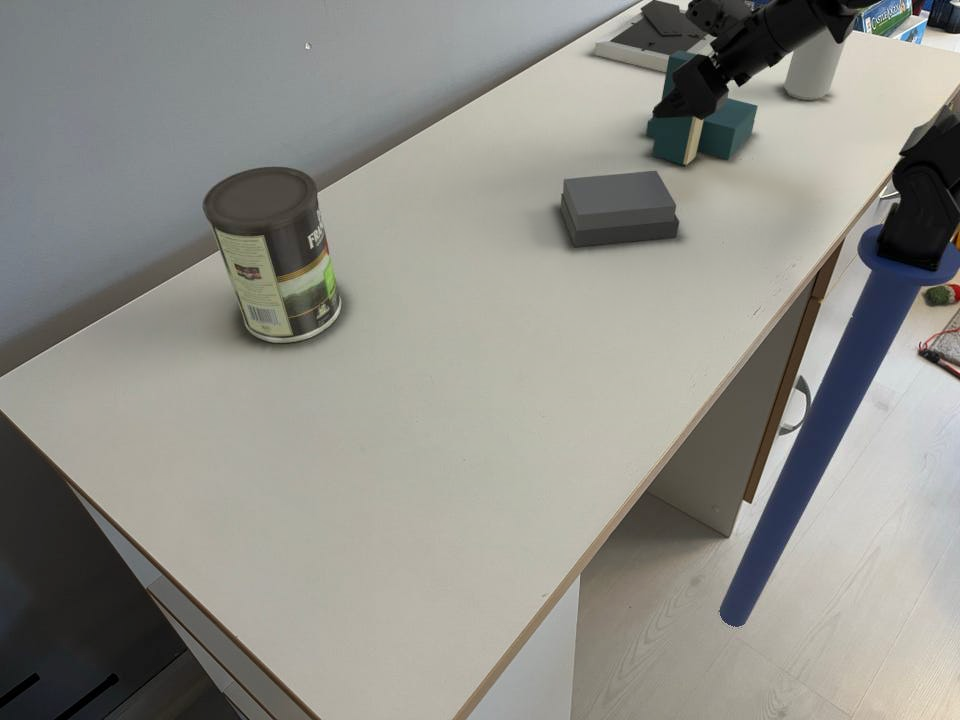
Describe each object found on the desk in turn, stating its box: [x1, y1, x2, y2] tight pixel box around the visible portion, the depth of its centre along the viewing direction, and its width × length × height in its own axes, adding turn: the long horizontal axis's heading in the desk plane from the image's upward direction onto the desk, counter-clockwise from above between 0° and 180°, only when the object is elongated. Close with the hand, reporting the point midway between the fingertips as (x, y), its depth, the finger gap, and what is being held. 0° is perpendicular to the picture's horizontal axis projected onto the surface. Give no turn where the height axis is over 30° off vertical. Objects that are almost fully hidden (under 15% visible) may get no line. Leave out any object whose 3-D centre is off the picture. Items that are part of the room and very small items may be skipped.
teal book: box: [651, 50, 716, 167], centre depth 91 cm, size 5×3×13 cm, turn 52°
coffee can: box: [202, 166, 342, 344], centre depth 70 cm, size 10×10×14 cm
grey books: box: [560, 170, 680, 248], centre depth 83 cm, size 12×8×4 cm, turn 97°
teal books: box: [645, 97, 759, 160], centre depth 98 cm, size 12×8×4 cm
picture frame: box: [594, 0, 717, 73], centre depth 121 cm, size 16×3×21 cm
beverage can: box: [783, 29, 847, 101], centre depth 103 cm, size 6×6×12 cm
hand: (671, 100), depth 90 cm, fingers open, 9 cm apart
